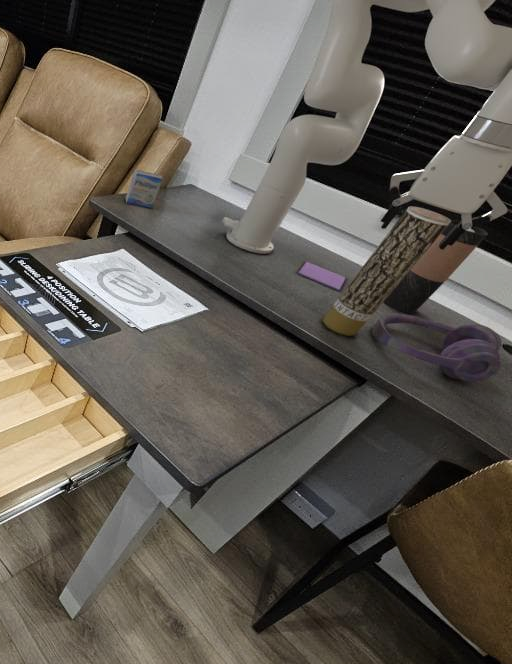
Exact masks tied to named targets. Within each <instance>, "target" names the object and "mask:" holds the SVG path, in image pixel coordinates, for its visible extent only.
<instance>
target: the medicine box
mask: <svg viewBox="0 0 512 664" xmlns="http://www.w3.org/2000/svg"><path fill="white" fill-rule="evenodd" d="M131 177H132V178H131V181H130V184H129V185H128V189H127V193H126V195H125V202H126V204H129V205H133V206H138V207H143V208H147V209H152V208H153V206H154V203H155V200H156V198H157V196H158V193H159V191H160V187H161V185H162V182H163V176H162V174H158V173H152V172H150V171H149V172H148V171H144V170H140V169H134V172H133V175H132V176H131Z"/></svg>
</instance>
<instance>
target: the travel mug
mask: <svg viewBox="0 0 512 664" xmlns="http://www.w3.org/2000/svg"><path fill="white" fill-rule="evenodd" d="M450 220H451V222H450V223H449V225H448V226H447V227H446V229H445V230H444V231H443V232H442V233H441V234H440V236H439V237H438V238H437V239H436V240H435V242H434V243H433V244H432V245H431V246H430V247H429V249H428V250H427V251H426V252H425V253H424V254H423V256H422V257H421V258H420V259H419V260H418V262H417V263H416V264H415V265H414V266H413V267H412V269H411V270H410V271H409V272H408V273H407V275H406V276H405V277H404V278H403V279H402V280H401V282H400V283H399V284H398V285H397V286H396V288H395V289H394V290H393V291H392V292H391V293H390V295H389V296H388V297H387V298H386V299H385V300H384V303H385V304H386V305H388V306H389V307H391V308H393V309H395V310H397V311H400V312H403V313H406V314H415V312H417V311H418V310H420V308H421V307H422V306H423V305H424V304H425V303H426V302H427V301H428V300H429V299H430V298H431V297H432V296H433V295H434V293H436V291H438V289H439V288H441V286H443V284H444V283H445V282H446V281H447V280H448V279H449V278H450V277H451V276H452V275H453V274H454V272H455V271H456V270H457V269H458V268H459V267H460V266H461V265H462V264H463V263H464V261H466V259H468V257H469V256H470V255H471V254H472V253H473V251H474V250H475V249H477V247H478V246H479V245H480V244H481V243H482V242H483V240H484V239H485V238H487V236H488V232H487V231H485V229H482V228H481V227H479V226H476V227H472V228H470V229H468V230H465V231H464V233H463V234H462V235H461V236H460V237H459V238H458V239H457V241H456V242H455V243H454V244H453V245H452V246H450V245H447V246H446V247H445V249H444V250H442V249H440V248H439V244H440V242H441V241H442V240H443V239H444V238H445V237H446V235H447V234H448V233H449V232H450V231H451V230H452V228H453V227H454V226H455V225H457V224H459V223H460V222H461V221H462V220H456V219H450Z"/></svg>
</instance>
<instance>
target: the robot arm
mask: <svg viewBox="0 0 512 664" xmlns="http://www.w3.org/2000/svg"><path fill="white" fill-rule="evenodd" d="M495 2H496V0H333V2H332V6H331V10H330V15H329V20H328V24H327V29H326V32H325V34H324V35H325V36H324V38H323V41H322V43H321V46H320V48H319V51H318V54H317V57H316V58H315V62H314V63H313V67H312V69H311V73H310V75H309V77H308V80H307V82H306V86H305V90H304V94H303V100H304V103H305V104H306V105H307V106H309V107H311V108H313V109H318V110H322V111H323V110H324V111H329V112H332V113H333V112H334V113H336V114H335V117H329V116H324V115H318V114H302V115H299V116H296V117H294V118H292V119H291V120H290V121H289V122H287V124H286V125H285V126H284V127H283V129H282V131H281V133H280V135H279V138H278V141H277V144H276V147H275V151H274V153H273V155H272V157H271V160H270V162H269V165H268V167H267V169H266V171H265V172H264V175H263V176H262V179H260V180H261V181H260V183H259V185H258V186H257V188H256V190H255V192H254V194H253V196H252V198H251V200H250V202H249V204H248V206H247V208H246V210H245V211H244V213H243V215H242V217H241V219H240V220H238V219H236V220H234V219H232V218H230V217H227V216H224V217H223V219H222V221H221V225H222V226H223V227H224V228H228V229H230V230H228V231H227V232H226V236H225V237H226V239H227V241H228V242H230V243H231V244H232V245H234V246H236V247H238V248H240V249H242V250H245V251H248V252H251V253H253V254H254V253H255V254H260V255H267V254H270V253H272V252H273V250H274V248H275V247H274V244H273V243H272V240H273V238H274V237H275V235H276V233H277V231H278V230H279V228H280V227H281V225H282V223H283V221H284V220H285V218H286V216H287V215H288V213H289V211H290V209H291V208H292V206H293V205H294V203H295V201H296V200H297V197H298V196H299V194H300V192H301V191H302V190H303V187H304V185H305V183H306V180H307V168H308V167H307V166H308V164H309V163H313V164H320V165H325V166H337V165H341V164H343V163H345V162H347V161H348V160H349V159H350V158H351V157H352V156H353V155H354V153H356V150H357V149H358V148H359V146H360V144H361V141H362V140H363V137H364V135H365V133H366V131H367V130H368V129H367V128H368V126H369V124H370V122H371V120H372V117H373V115H374V113H375V110H376V108H377V106H378V104H379V102H380V100H381V97H382V95H383V92H384V88H385V75H384V72H383V71H382V70H381V69H380V68H379V67H377V66H375V65H371V64H368V63H362V59H363V56H364V53H365V51H366V48H367V45H368V44H369V41H370V37H371V35H372V34H371V33H372V24H373V23H372V22H373V21H372V14H371V7H372V6H373V5H375V6H378V7H382V8H387V9H391V10H395V11H400V12H405V13H417V12H418V13H419V12H423V11H426V10H429V12H430V13H431V15H432V19H431V21H430V22H429V25H428V28H427V32H426V33H425V39H424V47H425V51H426V53H427V56H428V58H429V60H430V62H431V64H432V67H433V68H434V70H435V72H436V73H437V74H438V76H440V78H442V79H444V80H445V81H447V82H449V83H453V84H458V85H463V86H469V87H472V88H473V87H474V88H477V89H482V90H487V91H491V92H492V91H493V92H492V93H491V94H490V95H489V97H488V99H486V101H485V102H484V104H483V106H481V108H480V109H479V110H478V111H477V113H476V115H474V117H473V119H472V120H471V121H470V122H469V124H468V125H467V126H466V128H465V129H464V130H463V132H462V133H461V134H460V135H453V136H452V137H451V138H450V139H449V140H448V141H447V142H446V143H445V144H444V145H443V146H442V147H441V148H440V150H439V151H438V152H437V153H436V154H435V155H434V156H433V158H432V159H431V160H430V161H429V162H428V163H427V165H426V166H425V167H424V169H420V170H412V171H406V172H405V171H404V172H400V173H394V174H393V175H391V177H390V183H389V191H388V194H389V196H390V199H391V200H390V201H391V206H389V208H388V209H387V211H386V213H385V214H384V215H383V217H381V219H380V222H381V223H382V224H381V227H380V229H382V230H386V229H387V227H389V225H390V223H391V222H392V221H393V220H394V218H395V217H396V216H397V214H398V213H399V212H400V210H401V208H402V205H404V204H406V203H408V202H411V201H413V200H415V201H418V202H421V203H424V204H427V205H430V206H433V207H437V208H439V209H442V210H446V211H449V212H451V213H452V212H453V213H456V214H460V215H461V216H460V218H461V220H460V221H461V222H460V223H459V224H457V225H455V226H454V227H453V228H452V230H451V231H450V232H449V233H448V234H447V235H446V237H445V238H444V239H443V240H442V241H441V242H440V244H439V248H440V249H442V250H444V249H445V247H446V246H447V245H450V246H452V245H453V244H454V243H455V242H456V241H457V239H458V238H459V237H460V236H461V235H462V234H463V233H464V231H465V230H468V229H470V228H472V227H479V226H483V225H487V224H488V223H490V222H491V221H493V220H495V219H498V218H499V217H502V216H503V215H505V214H507V213H508V207H507V206H506V205H505V204H504V202H503V200H501V198H500V197H499V196H498V195H497V193H496V192H495V189H496V188H497V186H499V184H500V183H501V181H502V180H503V179H504V177H505V176H506V175H507V173H508V171H509V170H510V169H511V167H512V27H509V26H504V25H499V24H494V23H493V22H491V20H490V19H489V18H488V17H487V14H486V13H485V12H486V10H488V8H490V7H491V6H492V5H493V4H494V3H495ZM412 180H414V182H413V183H412V185H411V186H410V188H409V191H406V192H405V193H403V194H401V190H400V183H401V182H404V181H405V182H406V181H412ZM485 202H487V203H488V205H489V206H490V207H491V208H492V209H491V210H490V211H489V212H487V213H485V214H482V215H479V216H475V217H473V216H472V214H473V213H475V212H476V211H478V209H479V208H480V207H481V206H482V205H483V204H484V203H485Z"/></svg>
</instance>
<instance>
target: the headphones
mask: <svg viewBox="0 0 512 664" xmlns="http://www.w3.org/2000/svg"><path fill="white" fill-rule="evenodd" d="M390 324H391V325H392V324H409V325H414V326H415V325H416V326H421V327H425V328H426V329H428V330H429V329H430V330H433V331H435V332H439V333H441V334H444V335H445V336H444V338H443V340H442V349H443V350H442V351H441V353H440V354H436V353H432V352H429V351H427V350H423V349H420V350H418V349H416V348H414V347H411V346H410V345H408V344H406V343H404V342H402V341H400V340H398V339H397V338H396V337H394V336H393V335H392V334H390V333H389V332H388V331H387V330H386V327H385V326H386V325H390ZM371 335H372V336H373V338H374V339H375V340H376V341H378V342H379V343H381V344H383V345H384V346H386V347H388V348H390V349H393V350H395V351H397V352H400V353H402V354H405V355H407V356H410V357H414V358H415V359H418V360H421V361H424V362H427V363H430V364H434V365H438V368H439V369H440V370H441V372H443V374H445V375H446V376H448V377H449V378H451V379H453V380H456V381H462V382H466V383H477V382H482V381H486V380H487V379H489V378H491V377H493V376H494V375H496V373H498V371H499V370H500V368H501V365H502V364H501V359H500V358H501V357H500V353H499V351H500V349H501V348H502V339H501V336H500V335H499V334H498V333H497V332H496V331H495V330H493V329H492V328H491V327H489V326H486V325H483V324H475V323H474V324H464V325H460V326H456V327H453V326H450V325H448V324H444V323H441V322H438V321H435V320H428V319H425V318H422V317H417V316H415V315H410V314H409V315H408V314H404V313H391V312H390V313H389V312H387V313H384V314H382V315H380V317H379V318H378V320H377V321H376V323H375V325H374V327H373V328H372V330H371Z"/></svg>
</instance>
